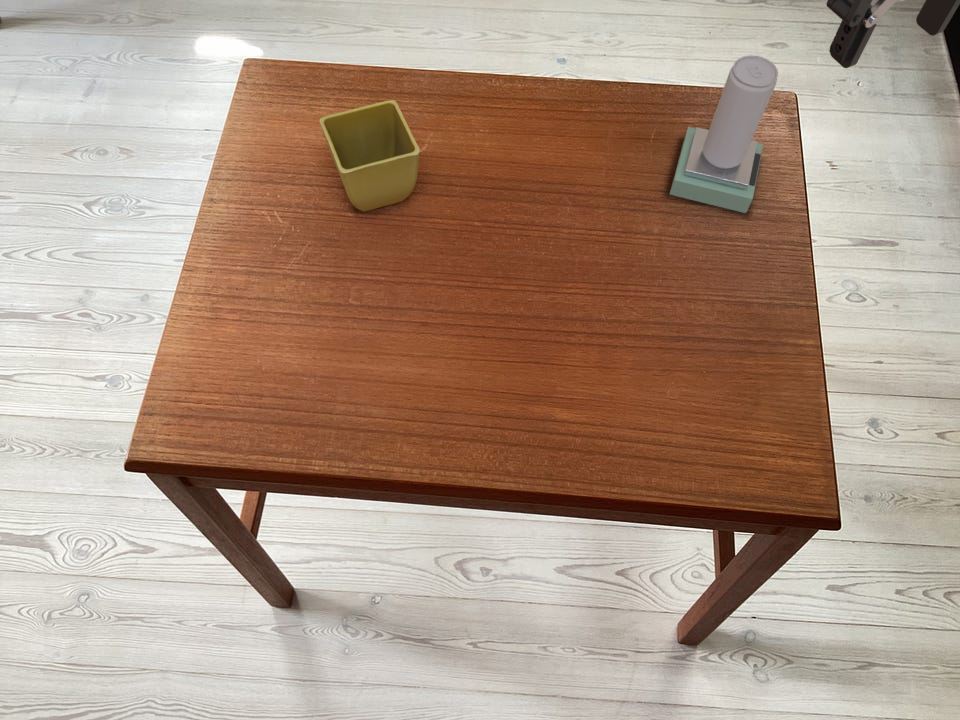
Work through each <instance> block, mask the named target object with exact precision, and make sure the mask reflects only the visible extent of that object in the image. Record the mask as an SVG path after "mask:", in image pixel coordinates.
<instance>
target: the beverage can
mask: <svg viewBox="0 0 960 720" xmlns="http://www.w3.org/2000/svg"><path fill="white" fill-rule="evenodd" d="M778 76H779V71H778V67H777V66H776V65H775V63H773V61H770V60H769V59H768V58H766V57H763V56H759V55H744V56H741V57H738V59H736V60H735V61H734V63H733V65H732V66H731V68H730V70H729V72H728V75H727V78H726V81H725V83H724V86H723V88H722V92H721V95H720V97H719V100H718V103H717V107H716V108H715V112H714V115H713V118H712V120H711V122H710V126H709V129H708V130H709V131H708V134H707V137H706V140H705V143H704V145H703V154H704V156H705V158H706V160H707V161H708V162H709V163H710V164H711V165H713V166H715V167H718V168H722V169H728V168H733V167H735V166H738V165H739V164H740V163H741V162H742V161H743V159H744V157H745V154H746V152H747V150H748V148H749V145H750V143H751V141H752V140H754V136H755V135H756V132H757V129H758V128H759V125H760V123H761V120H762V118H763V116H764V113H765V111H766V109H767V107H768V104H769V102H770V100H771V97H772V95H773V93H774V90H775V88H776V86H777V82H778Z"/></svg>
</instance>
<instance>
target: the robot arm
mask: <svg viewBox="0 0 960 720" xmlns="http://www.w3.org/2000/svg"><path fill="white" fill-rule="evenodd" d="M872 2H873V0H827V2H826V3H825V4H826V8H828V9H829V10H830V11H832V12H833V13H834V14H835V15H836V16H837V17H838V18H840V20H841V22H840V24H839V26H838V28H837V31H836V33H835V35H834V36H833V40H832V41H831V44H830V46H829V54H830V57H831V58H832V59H833V60H835V61H836V63H838V64H839V65H840V66H841V67H842V68H843V69H849V68H851V67H853V66H854V67H855V66H856V65H857V64H858V62H859V61H860V58H861V56H862V54H863V52H864V50H865V48H866V47H867V45H868V42H869V41H870V39H871V36H872V34H873V33H874V30H875V29H876V26H877V24H876V23H878V22H879V20H880V19H881V18H882V17H883V16H885V14H886V13H887V12H888V11H889V10H890V9H891V8H892V7H893V6H894V5H895V4H896V3H898V2H899V3H901V2H906V0H877V1H876V2H875V3H874V4H873V5H872ZM959 6H960V0H925V1H924V3H923V4H922V7H921V8H920V9H919V12H918V14H917V15H916V18H915V22H916V25H917V26H919V28H921V29H922V31H924V32H925V33H927V34H928V35H929V36H932V37H933V36H936V35H939V34H941V33H943V32H944V31H945V29H946V28H947V26H948V24H949V23H950V22H951V19H952V18H953V17H954V14H955V12H956V11H957V10H958V8H959Z"/></svg>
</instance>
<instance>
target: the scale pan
mask: <svg viewBox="0 0 960 720" xmlns="http://www.w3.org/2000/svg"><path fill="white" fill-rule="evenodd" d="M695 127H696V130H695V133H694V137H693V141H692V145H691V149H690V153H689V157H688V160H687V164H686V168H685V172H684V175H687V176H691V177H695V178H699V179H704V180H708V181H712V182H716V183H720V184H724V185H728V186H733V187H737V188H741V189H745V190H747V188H748V186H749V181H750V176H751V171H752V166H753V161H754V156H755V151H756V146H757V143H758V140H754V139H752V141H751V143H750V145H749V148H748V150H747V152H746V154H745V157H744V159H743V161H742V162H741V163H740V164H739V165H738V166H735V167H733V168H728V169H722V168H718V167H715V166H713V165H711V164H710V163H709V162H708V161H707V160H706V158H705V156H704V154H703V145H704V143H705V140H706V137H707V134H708V131H709V129H706V128H703V127H698V126H695Z"/></svg>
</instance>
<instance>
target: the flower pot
mask: <svg viewBox="0 0 960 720" xmlns="http://www.w3.org/2000/svg"><path fill="white" fill-rule="evenodd" d="M319 124H320V127H321V130H322V133H323V136H324V138H325V142H326V144H327V148H328V150H329V154H330V157H331V158H332V161H333V164H334V165H335V168H336V170H337V173H338V175H339V177H340V180H341V182H342V185H343V188H344V190H345V193H346V196H347V198H348V200H349V202H350V203H351V204H352V206H353V207H354V208H355V209H357V210H359V211H360V212H365V213H366V212H369V211H373V210H376V209H379V208H383V207H387V206H391V205H394V204H398V203H401V202H403V201H405V200H406V199H407V198H408V197H409V196H410V195H411V194H412V192H413V191H414V189H415V187H416V184H417V180H418V174H419V173H418V172H419V166H420V165H419V163H420V156H421V149H420V147H419V145H418V143H417V141H416V139H415V137H414V135H413V133H412V131H411V129H410V127H409V124H408V122H407V121H406V119H405V116H404V115H403V113H402V109H401V108H400V106H399V104H398V102H397V101H396V100H395V99H390V100H385V101H380V102H376V103H371V104H368V105H364V106H359V107H357V108H352V109H349V110H344V111H340V112H337V113H336V112H335V113H333V114H329V115H325V116H322V117H320V118H319Z"/></svg>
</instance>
